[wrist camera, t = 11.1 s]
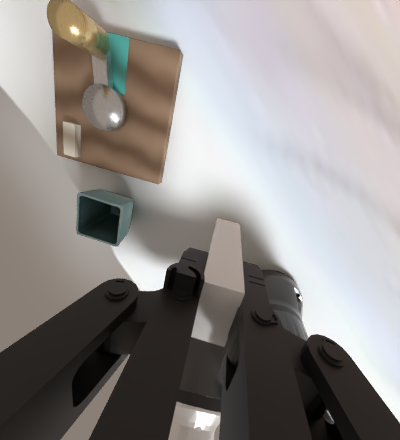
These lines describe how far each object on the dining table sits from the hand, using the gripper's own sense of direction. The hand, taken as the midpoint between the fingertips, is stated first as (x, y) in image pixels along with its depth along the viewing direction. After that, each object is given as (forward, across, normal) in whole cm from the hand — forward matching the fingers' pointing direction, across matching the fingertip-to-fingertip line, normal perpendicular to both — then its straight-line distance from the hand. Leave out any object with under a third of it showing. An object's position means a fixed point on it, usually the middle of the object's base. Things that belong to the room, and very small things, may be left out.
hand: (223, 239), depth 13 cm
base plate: (+28, -24, +7) cm, 38 cm away
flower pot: (+29, -22, -12) cm, 38 cm away
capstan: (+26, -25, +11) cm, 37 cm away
